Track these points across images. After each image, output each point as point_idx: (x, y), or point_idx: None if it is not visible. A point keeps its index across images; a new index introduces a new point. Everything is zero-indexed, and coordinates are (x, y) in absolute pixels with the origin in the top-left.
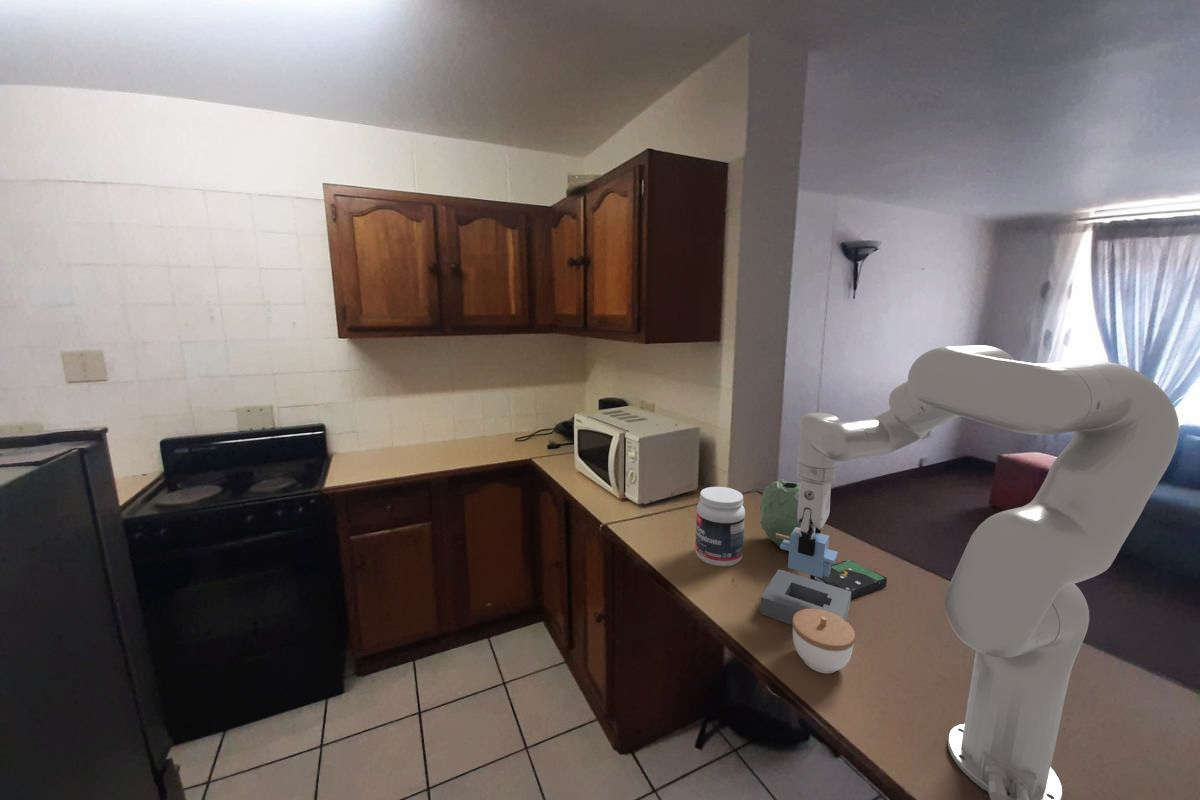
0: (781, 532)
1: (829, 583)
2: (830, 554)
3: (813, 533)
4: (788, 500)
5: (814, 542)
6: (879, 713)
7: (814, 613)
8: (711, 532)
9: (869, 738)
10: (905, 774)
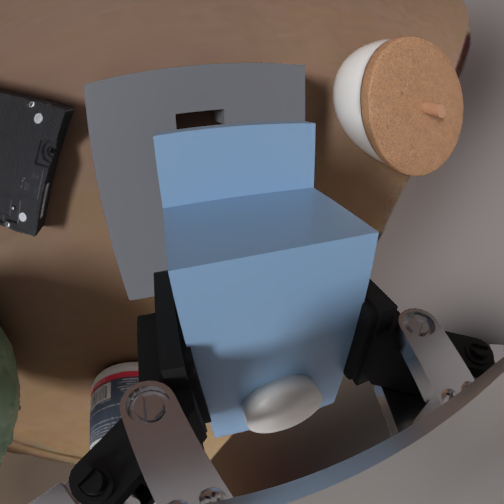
0: (5, 369)
1: (48, 169)
2: (238, 166)
3: (452, 347)
4: None
5: (383, 295)
6: (411, 13)
7: (398, 133)
8: (203, 447)
9: (447, 36)
10: (460, 11)
